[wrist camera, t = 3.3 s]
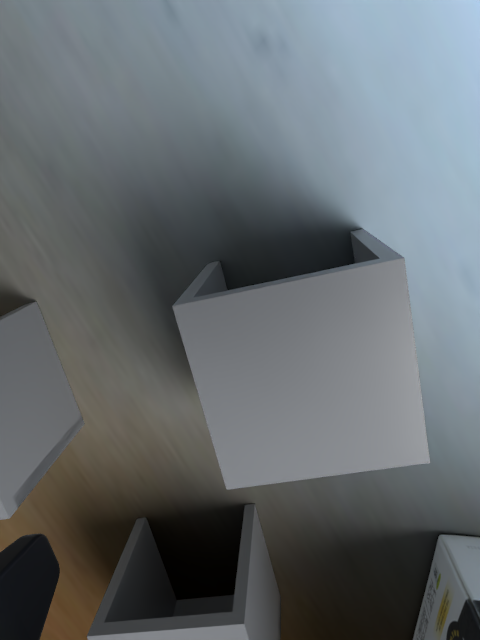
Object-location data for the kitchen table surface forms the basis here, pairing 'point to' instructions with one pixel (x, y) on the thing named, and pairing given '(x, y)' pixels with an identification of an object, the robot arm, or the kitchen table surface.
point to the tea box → (452, 592)
